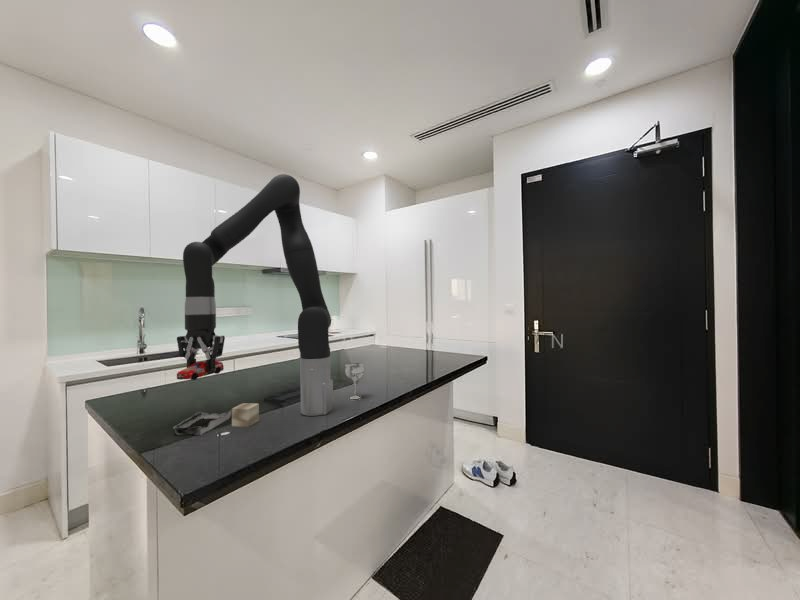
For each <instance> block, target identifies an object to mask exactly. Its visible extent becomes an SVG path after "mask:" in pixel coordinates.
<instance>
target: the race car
mask: <svg viewBox="0 0 800 600" xmlns="http://www.w3.org/2000/svg"><path fill="white" fill-rule="evenodd" d="M222 371H224V364H223V362H222V361H217V360H215V370H214V372H211V373H207V372H206V360H201V361H196V363H194V364H192V365H191V366H188V368H187V367H186V368H185V369H181V370H179V371H178V372H176V379H177V380H191V381H196V380H197V379H198V378H201V377H206V376H209V375H212V374H213V375H214V374H216V375H217V374H220V372H222Z"/></svg>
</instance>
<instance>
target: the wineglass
mask: <svg viewBox="0 0 800 600" xmlns="http://www.w3.org/2000/svg"><path fill="white" fill-rule="evenodd" d="M344 366H345V368H344V369H345V375H346V377H348V378H349V379H351V380H352V381H353V395H352V396H349V397H350V399H358V398H360V397H361V396H360V397H359V395H356V393H357V392H356V388H357V385H356V383H357V381H358V379H360V378H362V376H363V375H364V372H365V368H364V363H361V362H351V363H347V364H345V365H344Z"/></svg>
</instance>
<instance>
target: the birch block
mask: <svg viewBox="0 0 800 600" xmlns="http://www.w3.org/2000/svg"><path fill="white" fill-rule="evenodd" d="M259 421H260V404H259V403H250V402H248V403H247V402H246V403H245V402H243V403H240V404H238V405H237V406H234V407H231V427H238V428H239V427H240V428H249V427H251V426H252V425H254V424H255V423H257V422H259Z"/></svg>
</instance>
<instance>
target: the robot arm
mask: <svg viewBox="0 0 800 600" xmlns="http://www.w3.org/2000/svg"><path fill="white" fill-rule="evenodd" d="M300 188H301V187H300V185H299V182H298V181H297V179H296V178H294V177H293V176H292V175H289V174H286V173H284V174H282V173H281V174H278V175H276V176H274V177H273V178H271V180H270V181H269V182H267V184H266V185H265V186H264V187H263V188H262V189H261V190H260V191H259V192H258V193H257V194H256V195H255V196H254V197H253V198H252V199H251V200H249V201H248V203H246V204H245V205H244V206H243V207H241V208H240V209H239V210H238V211H236V212H235V213H234V214H232V215H231V216H230V217H228V218H227V219H225V220H224V221H222V222H221V223H219V224H218V226H216V227H214V229H212V231H211V232H210V234H209V236H207V237H206V238H205V239H204V240H203V241H192V242H190V243H188V244H187V245H186V246H185V247H184V249H183V254H182V264H183V271H184V275H185V302H184V329H185V331H187V332H186V334H185V335H180V336H177V337H176V342H177V347H178V354H179V357H180V358H185V360H186V368H188V366H191V365H192V364H194V363H196V362H197V358H196V357H197V355H198V352H199V351H200V350H202V353H203V354H204V355H205V358H206V360H205V361H206V372H207V373H211V372H214V370H215V361H216V358H218V357H221V356H223V351H224V344H225V340H226V338H225V335H216V333H215V329H216V328H217V311H216V308H217V306H216V304H217V303H216V299H215V281H214V278H213V266H214V265H215V264H217V263H218V262H219V261H220V260H221V259H222V258H224V256H225V255H226V254H227V253H228V252H229V251H231V250H232V249H233V248H234V247H236V246H237V245H238V244H240V243H241V242H243V240H245V239H246V238H247V237H248V236H249V235H251V233H253V232H254V231H255V230H256V228H257V227H258V226H259V225H260V224H261V223H262V222H263V221H264V219H266V218H267V217H268V216H269V215H270V214H271V213H273V212H275V215H276V218H277V221H278V223H279V229H280V236H281V237H280V238H281V244H282V245H281V246H282V251H283V257H284V260H285V263H286V264H285V265H286V268H287V270H288V273H289V276H290V278H291V280H292V282H293V284H294V286H295V288H296V290H297V292H298V294H299V295H298V296H299V299H300V303H301V310H302V311H301V312H300V314H299V315H298V320H297V341H298V342H297V343H298V345H297V346H298V350H299V355H300V357H299V359H300V361H299V362H300V363H299V364H300V368H299V370H300V375H299V376H300V377H299V378H300V413H301V415H303V416H308V417H309V416H310V417H313V416H314V417H315V416H316V417H317V416H321V415H324V416H325V415H327V414H328V413H330V412H331V411H332V410H333V409H334V380H333V379H332V378H331V347H330V343H329V342H330V341H329V328H330V327H331V323H332V317H331V314H330V311H329V309H328V306H327V304H326V301H325V298H324V295H323V291H322V287H321V280H320V279H321V278H320V275H319V270H318V264H317V259H316V255H315V251H314V248H313V244H312V241H311V239H310V236H309V234H308V232H307V230H306V228H305V226H304V223H303V219H302V213H301V207H300V198H301V196H300V195H301V189H300Z"/></svg>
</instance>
